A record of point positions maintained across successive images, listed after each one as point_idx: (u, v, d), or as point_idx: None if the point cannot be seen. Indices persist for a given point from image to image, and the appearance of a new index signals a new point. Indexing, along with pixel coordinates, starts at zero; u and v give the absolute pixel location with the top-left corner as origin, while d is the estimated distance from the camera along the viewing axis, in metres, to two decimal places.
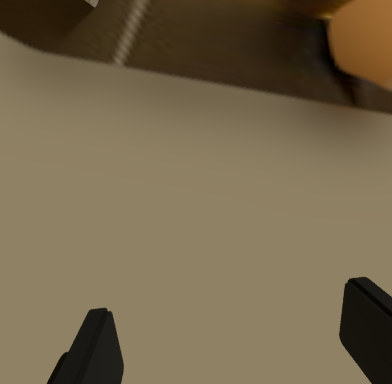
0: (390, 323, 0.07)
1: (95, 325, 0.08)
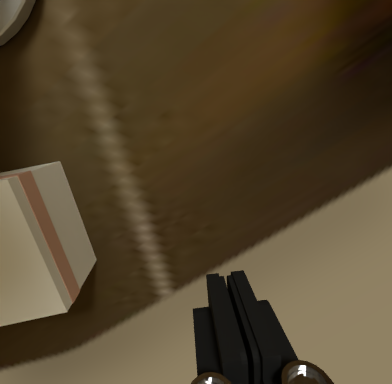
0: (237, 309, 0.08)
1: (220, 285, 0.09)
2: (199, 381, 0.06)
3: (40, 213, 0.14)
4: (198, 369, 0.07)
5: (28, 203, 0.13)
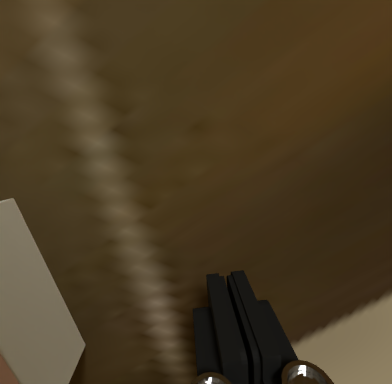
0: (237, 309, 0.08)
1: (220, 285, 0.09)
2: (199, 381, 0.06)
3: None
4: (198, 369, 0.07)
5: None
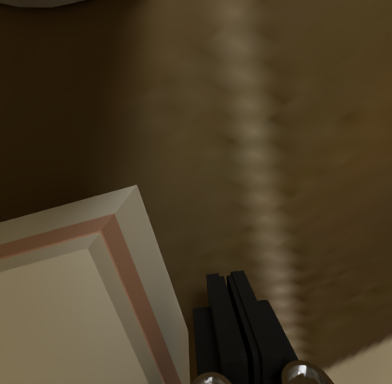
0: (237, 309, 0.08)
1: (220, 285, 0.09)
2: (199, 381, 0.06)
3: (137, 298, 0.07)
4: (198, 369, 0.07)
5: (121, 287, 0.06)
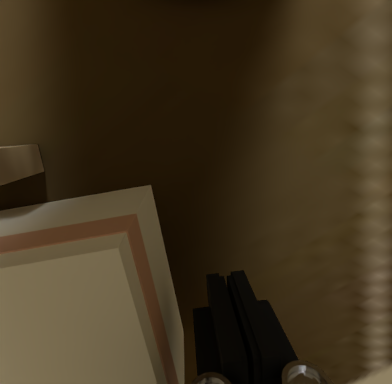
0: (237, 309, 0.08)
1: (220, 285, 0.09)
2: (199, 381, 0.06)
3: (150, 298, 0.07)
4: (198, 369, 0.07)
5: (140, 286, 0.06)
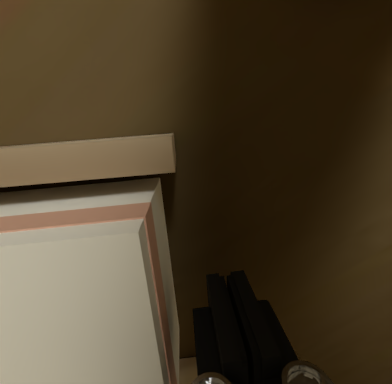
0: (237, 309, 0.08)
1: (220, 285, 0.09)
2: (199, 381, 0.06)
3: (158, 287, 0.07)
4: (198, 369, 0.07)
5: (151, 274, 0.06)
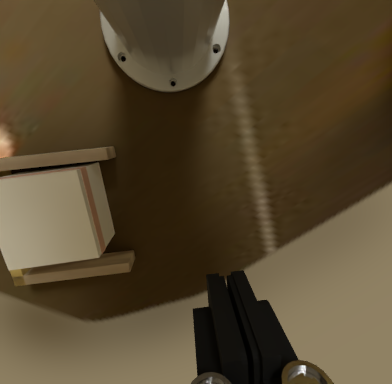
0: (237, 309, 0.08)
1: (220, 285, 0.09)
2: (199, 381, 0.06)
3: (89, 193, 0.23)
4: (198, 369, 0.07)
5: (84, 185, 0.22)
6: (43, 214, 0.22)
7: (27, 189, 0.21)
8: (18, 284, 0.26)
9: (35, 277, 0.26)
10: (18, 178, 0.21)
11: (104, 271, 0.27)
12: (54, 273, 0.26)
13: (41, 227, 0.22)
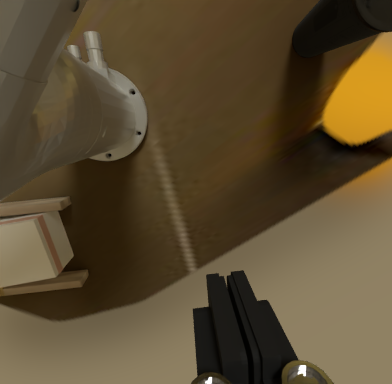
0: (237, 309, 0.08)
1: (220, 285, 0.09)
2: (199, 381, 0.06)
3: (46, 233, 0.33)
4: (198, 369, 0.07)
5: (40, 229, 0.32)
6: (13, 250, 0.31)
7: (1, 234, 0.31)
8: None
9: (12, 290, 0.36)
10: None
11: (63, 286, 0.37)
12: (25, 287, 0.36)
13: (13, 259, 0.32)
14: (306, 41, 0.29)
